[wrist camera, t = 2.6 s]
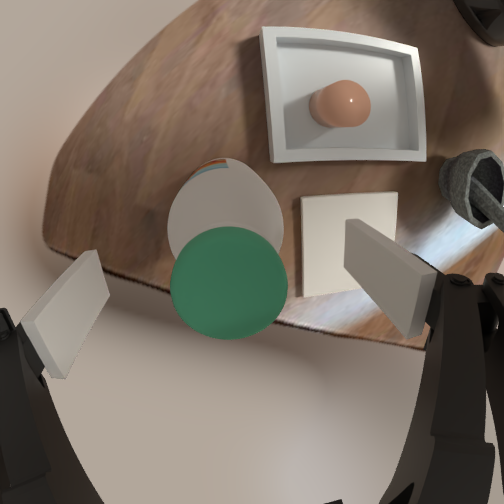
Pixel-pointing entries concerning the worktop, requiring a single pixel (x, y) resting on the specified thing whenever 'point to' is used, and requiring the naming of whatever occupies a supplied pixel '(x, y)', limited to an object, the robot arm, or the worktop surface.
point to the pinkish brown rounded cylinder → (340, 105)
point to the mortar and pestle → (475, 187)
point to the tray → (328, 72)
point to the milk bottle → (226, 251)
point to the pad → (338, 235)
